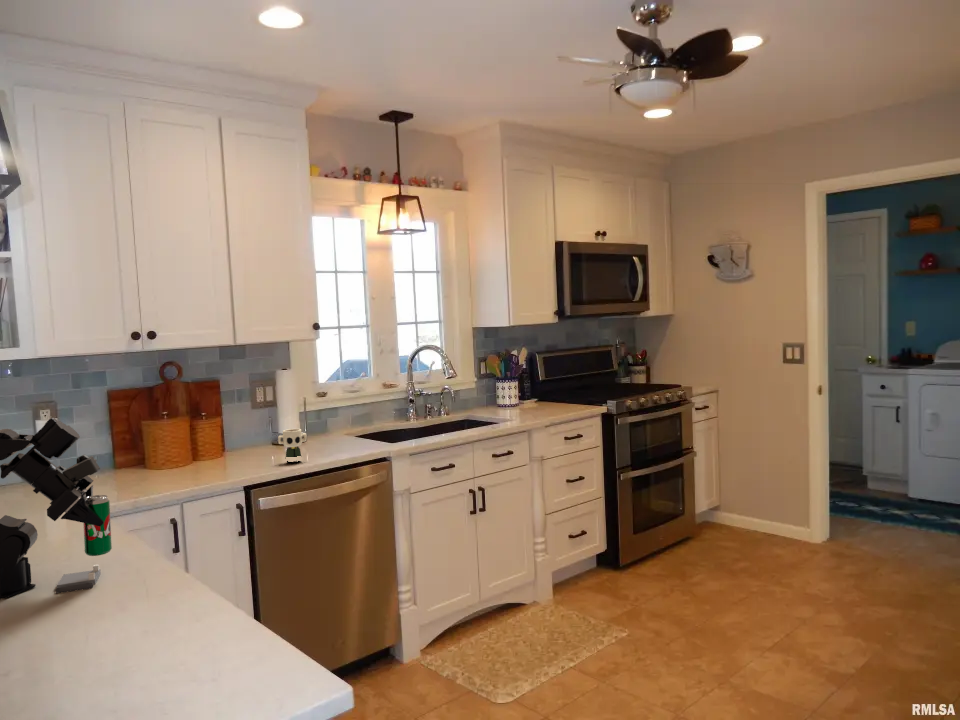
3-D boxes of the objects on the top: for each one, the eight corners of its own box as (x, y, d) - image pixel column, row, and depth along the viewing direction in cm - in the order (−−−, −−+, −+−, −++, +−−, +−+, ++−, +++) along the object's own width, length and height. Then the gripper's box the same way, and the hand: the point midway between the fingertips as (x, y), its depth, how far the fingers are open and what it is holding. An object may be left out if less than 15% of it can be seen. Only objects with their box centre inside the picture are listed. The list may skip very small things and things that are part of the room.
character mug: (280, 465, 271) (278, 432, 270) (278, 462, 277) (276, 430, 277) (309, 462, 275) (307, 429, 275) (306, 459, 282) (304, 427, 281)
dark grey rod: (56, 594, 142) (55, 588, 142) (57, 592, 143) (57, 586, 143) (93, 589, 144) (92, 583, 144) (94, 587, 145) (93, 581, 145)
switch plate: (56, 590, 144) (56, 579, 144) (64, 579, 151) (63, 568, 150) (95, 584, 146) (94, 573, 146) (100, 573, 153) (100, 563, 153)
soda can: (105, 547, 153) (103, 493, 153) (115, 552, 150) (113, 496, 150) (80, 553, 149) (78, 498, 149) (90, 558, 146) (88, 501, 146)
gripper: (62, 452, 139) (127, 501, 143) (80, 439, 156) (137, 483, 160) (18, 495, 136) (85, 544, 140) (41, 477, 154) (100, 521, 158)
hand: (104, 521), depth 150 cm, fingers closed on soda can, 5 cm apart
